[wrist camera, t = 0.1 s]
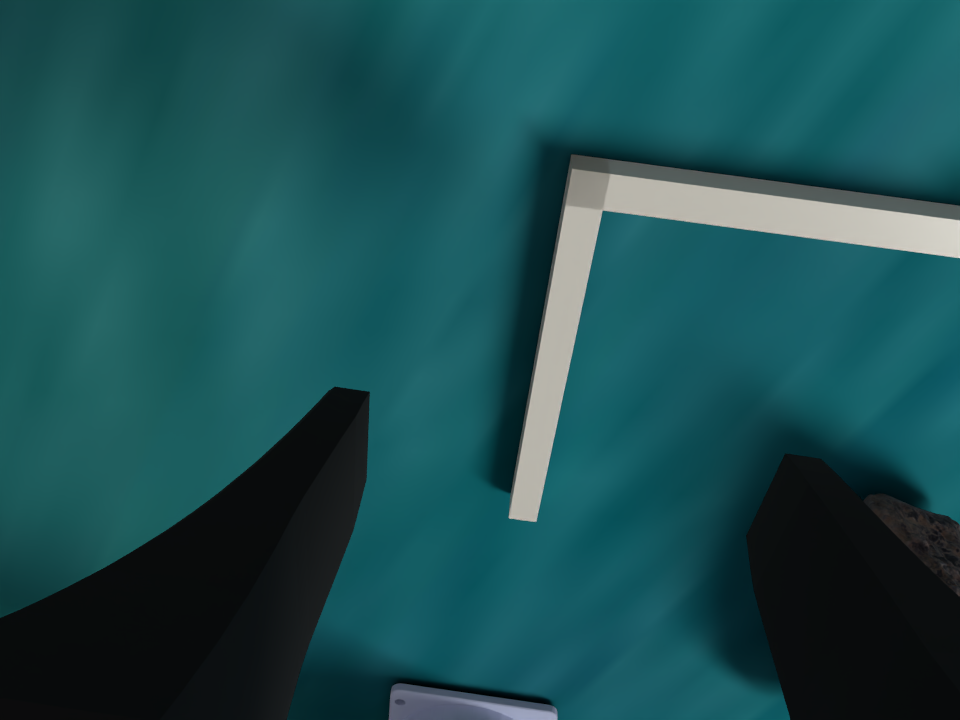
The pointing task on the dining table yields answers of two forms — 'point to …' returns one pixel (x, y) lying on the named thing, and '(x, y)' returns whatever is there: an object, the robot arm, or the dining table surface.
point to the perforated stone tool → (923, 535)
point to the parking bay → (697, 202)
